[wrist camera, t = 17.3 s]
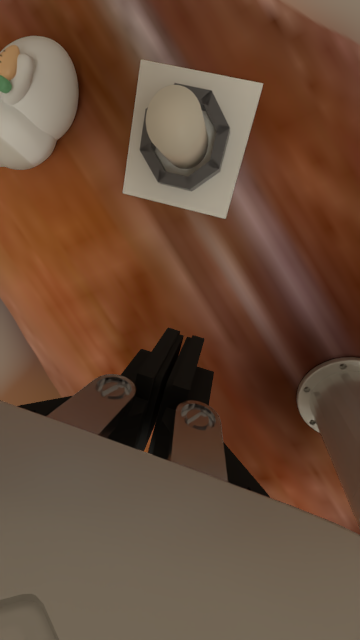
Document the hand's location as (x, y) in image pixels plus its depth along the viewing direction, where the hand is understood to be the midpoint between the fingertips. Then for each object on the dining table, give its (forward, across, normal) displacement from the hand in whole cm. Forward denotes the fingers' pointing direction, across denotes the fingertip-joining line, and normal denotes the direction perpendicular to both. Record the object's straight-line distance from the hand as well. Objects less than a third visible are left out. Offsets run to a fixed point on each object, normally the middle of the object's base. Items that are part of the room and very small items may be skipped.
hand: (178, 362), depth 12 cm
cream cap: (+24, +7, -13) cm, 28 cm away
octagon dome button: (+25, +7, -13) cm, 29 cm away
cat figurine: (+25, +25, -12) cm, 37 cm away
